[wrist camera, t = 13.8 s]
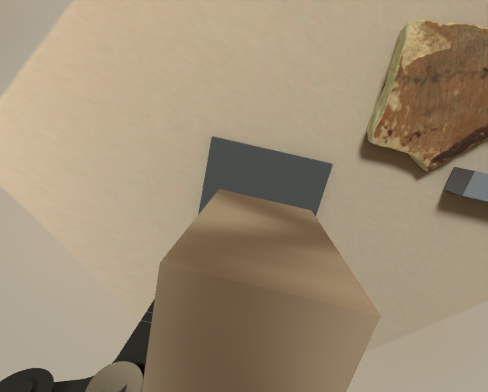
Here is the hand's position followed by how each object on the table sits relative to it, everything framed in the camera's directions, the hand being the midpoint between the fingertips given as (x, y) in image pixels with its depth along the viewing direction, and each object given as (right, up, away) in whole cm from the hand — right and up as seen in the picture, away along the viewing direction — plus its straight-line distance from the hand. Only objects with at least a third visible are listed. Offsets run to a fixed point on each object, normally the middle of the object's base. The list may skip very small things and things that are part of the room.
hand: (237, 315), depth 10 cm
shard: (+13, +12, +4) cm, 18 cm away
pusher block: (0, 0, +1) cm, 1 cm away
